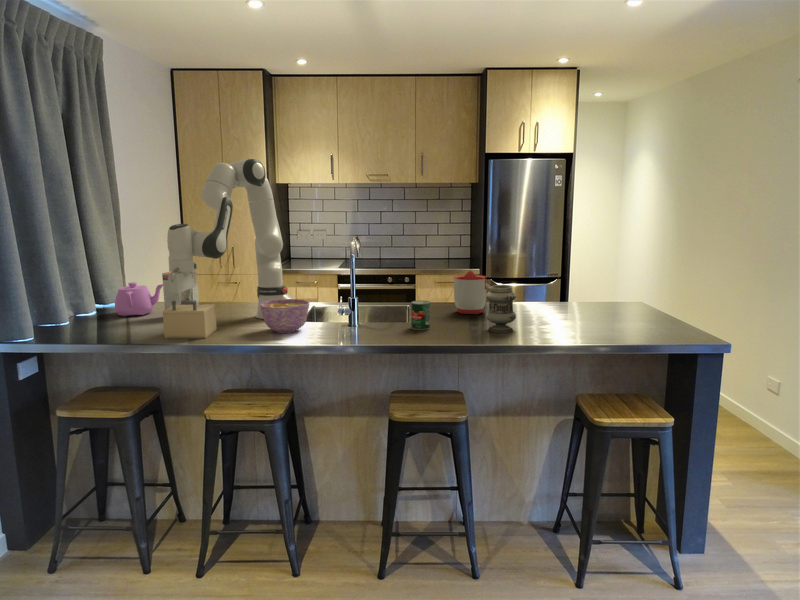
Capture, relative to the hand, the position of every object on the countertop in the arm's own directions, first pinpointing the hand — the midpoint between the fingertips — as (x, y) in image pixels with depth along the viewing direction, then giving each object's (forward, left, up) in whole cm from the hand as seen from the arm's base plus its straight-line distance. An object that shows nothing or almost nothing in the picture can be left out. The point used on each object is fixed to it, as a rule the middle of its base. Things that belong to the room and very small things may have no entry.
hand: (183, 302), depth 225 cm
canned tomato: (-93, -14, -14) cm, 95 cm away
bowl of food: (-37, -11, -14) cm, 41 cm away
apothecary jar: (-125, -10, -14) cm, 126 cm away
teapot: (+41, -50, -14) cm, 66 cm away
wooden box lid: (0, -6, -4) cm, 7 cm away
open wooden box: (0, -6, -14) cm, 15 cm away
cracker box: (+16, -41, -14) cm, 46 cm away
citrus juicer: (-118, -47, -14) cm, 128 cm away
